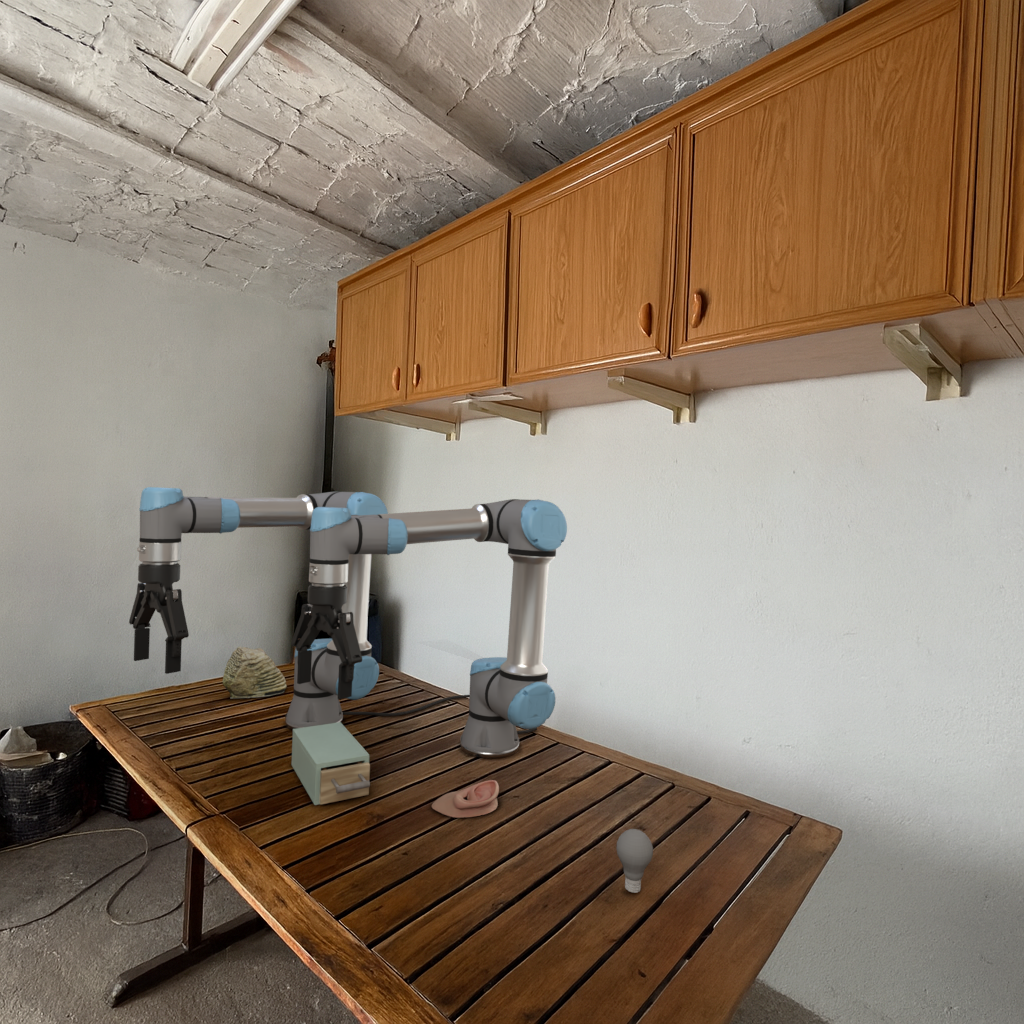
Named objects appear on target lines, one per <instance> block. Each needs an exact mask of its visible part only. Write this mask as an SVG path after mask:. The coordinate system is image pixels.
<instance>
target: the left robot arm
mask: <svg viewBox="0 0 1024 1024" xmlns="http://www.w3.org/2000/svg"><path fill="white" fill-rule="evenodd" d="M317 507H336V508H348V509H349V510H350V515H378V514H389V511H388V508H387V506H386V503H384V501H383V500H382V499H381V498H380V497H379V496H377V495H376V494H373V493H371V492H370V493H369V492H364V491H337V490H336V491H327V492H319V493H301V494H298V495H297V496H296V497H264V496H263V497H259V496H258V497H257V496H256V497H254V496H252V497H251V496H249V497H248V496H242V497H241V496H184V493H183V490H182V489H181V488H179V487H157V486H156V487H155V486H147V487H145V488H144V489H143V490H141V495H140V503H139V509H138V510H139V544H138V545H139V546H138V547H137V548H136V550H137V552H138V560H139V561H140V562H141V563H139V564H138V568H137V572H138V573H137V581H138V583H137V586H136V595H135V597H134V602H133V606H132V609H131V613H130V616H129V620H128V624H129V625H132V629H134V634H133V635H134V637H133V638H134V639H133V662H137V661H144V660H149V659H150V635H151V627H152V626H151V623H150V622H151V620H152V618H153V616H154V614H155V612H157V613H159V614H160V617H161V620H162V623H163V626H164V630H165V632H166V635H167V637H166V638H165V640H164V641H165V661H164V663H165V664H164V673H165V674H166V675H168V674H174V673H178V672H181V671H182V644H183V643H182V642H183V641H182V640H184V639H185V638H186V639H187V638H188V637H189V635H190V634H189V629H188V623H187V619H186V614H185V609H184V605H183V594H182V592H183V591H182V589H181V588H177V589H174V587H173V584H174V583H177V582H179V581H180V580H181V564H180V563H179V562H180V561H181V559H182V534H220V535H221V534H225V533H233V532H234V531H236V530H237V529H239V528H241V529H242V528H245V529H246V528H279V527H280V528H282V527H296V528H298V530H301V531H310V528H311V519H312V512H313V510H314V509H315V508H317ZM348 560H349V562H348V582H347V583H345V584H344V585H346V587H347V602H346V603H345V604H344V605H343V606H342V612H343V613H347V612H352V613H353V621H354V627H355V631H356V635H357V639H358V643H359V647H360V651H361V655H362V662H359V663H355V665H354V675H353V676H354V678H353V681H352V696H351V697H348V698H344V699H347V700H351V701H357V700H360V699H363V698H364V697H366V696H367V695H368V694H370V692H371V691H372V690H373V689H374V688H375V687H376V684H377V682H378V680H379V676H380V666H379V664H378V663H379V662H377V660H376V659H375V658H374V657H373V656H372V647H373V645H372V643H370V641H368V639H367V635H368V616H369V602H370V587H371V586H370V585H371V569H372V554H349V558H348ZM337 629H338V627H337ZM310 648H312V649H307V650H312V662H311V682H307V683H302V684H297V674H298V664H297V660H298V651H297V650H296V649H295V650H294V655H293V657H294V672H293V673H294V674H293V695H292V696H293V697H292V699H291V702H290V704H289V708H288V711H286V713H285V716H284V719H285V726H286V728H287V729H289V730H291V731H293V729H296V728H303V727H310V726H317V725H324V724H331V723H338V722H341V723H342V724H343V722H344V716H377V717H378V716H379V717H396V716H397V717H398V716H404V715H409V714H413V713H416V712H419V711H423V710H426V709H427V708H430V707H433V706H435V705H437V704H441V703H444V702H446V701H451V700H456V699H465V698H467V699H468V698H469V696H470V694H462V695H461V694H460V695H453V696H447V697H444V698H441V699H438V700H435V701H432V702H430V703H426V704H425V705H423V706H420V707H417V708H413V709H409V710H404V711H399V712H376V711H375V712H374V711H343V709H342V706H341V702H340V699H338V678H339V665H340V664H341V663H342V662H341V659H340V657H339V654H338V652H337V650H336V647H335V645H334V642H333V640H332V638H317V639H316V638H315V640H314V641H313V643H312V645H311V647H310ZM355 657H356V656H355ZM346 658H347V657H346Z"/></svg>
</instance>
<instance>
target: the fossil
mask: <svg viewBox="0 0 1024 1024" xmlns="http://www.w3.org/2000/svg"><path fill="white" fill-rule="evenodd" d="M222 676H223V677H222V685H223V687H224V688H225V690H226V691H228V693H229V698H230V699H250V698H264V697H271V696H275V695H281V694H284V693H285V691H286V689H287V687H288V686H287V680H286V678H285V676H284V674H283V673H282V672H281V669H279V668H278V667H277V665H276V663H275V662H274V660H273V659H272V658H271V657H270V656H269V655H268V654H267V653H266V652H265V650H264V649H263V648H260V647H258V648H251V647H247V646H246V647H245V646H238V647H237V648H236V649H235V650H233V651H232V653H231V656H230V657H229V659H228V660H227V663H226V666H225V668H224V671H223V675H222Z"/></svg>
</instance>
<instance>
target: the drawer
mask: <svg viewBox="0 0 1024 1024" xmlns="http://www.w3.org/2000/svg"><path fill="white" fill-rule="evenodd" d="M370 775H371V763H370V761H369V762H366V763H362V761H358V762H353V763H347V764H342V765H336V766H330V767H325V768H321V772H320V797H319V802H320V804H319V805H326V804H330V803H336V802H339V801H344V800H345V801H346V800H350V799H355V798H359V797H363V796H369V795H370V787H371V782H370Z"/></svg>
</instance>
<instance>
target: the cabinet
mask: <svg viewBox="0 0 1024 1024" xmlns="http://www.w3.org/2000/svg"><path fill="white" fill-rule="evenodd" d="M291 739H292V740H291V742H292V743H291V767H292V769H293V770H294V772H295V775H297V777H298V779H299V780H300V783H301V784H302V786H303V788H304V789H305V791H306V793H307V794H308V796H309V798H310V800H311V801H312V803H313V805H314V806H319V805H321V804H320V802H319V797H320V772H321V768H325V767H330V766H336V765H342V764H347V763H353V762H358V761H362V763H366V762H369V763H370V754H369V752H367V750H365V748H364V747H363V746H362V745H361V743H360V742H359V741H358V740H357V739H356V738H355V736H353V734H351V732H350V731H349V730H348V729H347V728H346V726H345V725H344V724H343V722H342V723H341V722H338V723H331V724H324V725H317V726H310V727H303V728H296V729H293V730H292V738H291Z"/></svg>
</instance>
